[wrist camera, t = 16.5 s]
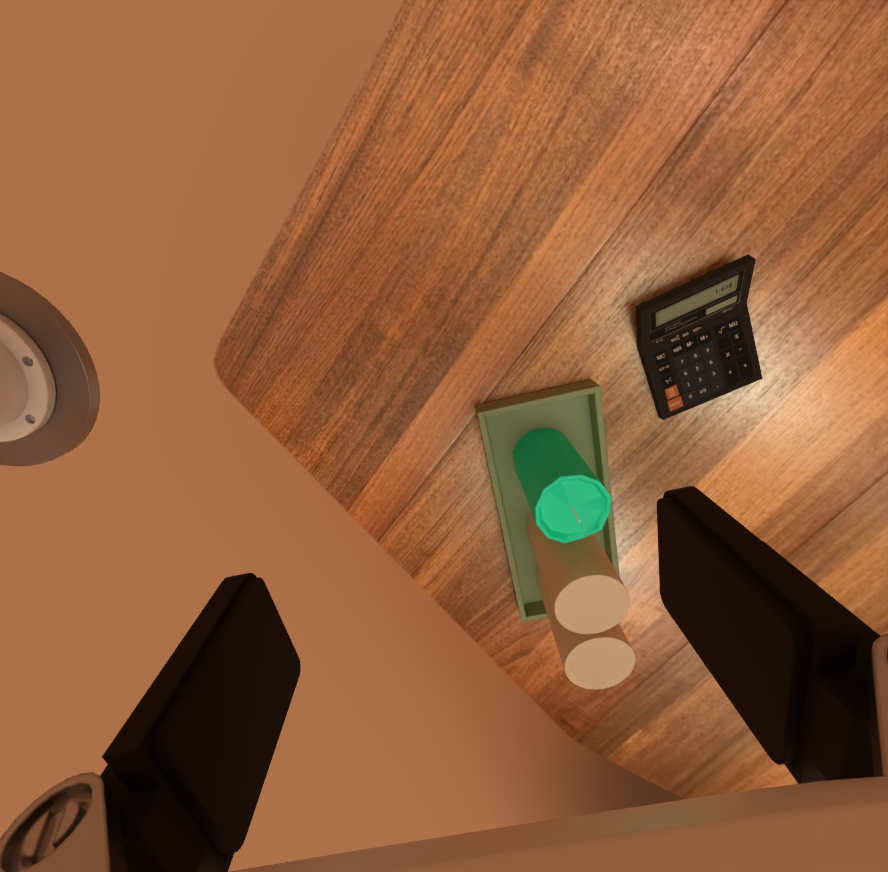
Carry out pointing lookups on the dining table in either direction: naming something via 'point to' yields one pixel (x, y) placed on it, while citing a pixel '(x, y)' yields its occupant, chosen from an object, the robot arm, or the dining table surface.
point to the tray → (501, 430)
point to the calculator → (699, 339)
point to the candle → (560, 486)
